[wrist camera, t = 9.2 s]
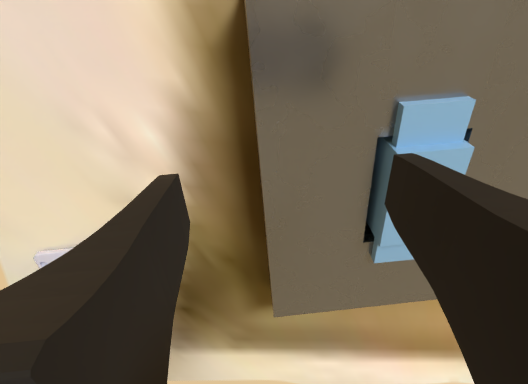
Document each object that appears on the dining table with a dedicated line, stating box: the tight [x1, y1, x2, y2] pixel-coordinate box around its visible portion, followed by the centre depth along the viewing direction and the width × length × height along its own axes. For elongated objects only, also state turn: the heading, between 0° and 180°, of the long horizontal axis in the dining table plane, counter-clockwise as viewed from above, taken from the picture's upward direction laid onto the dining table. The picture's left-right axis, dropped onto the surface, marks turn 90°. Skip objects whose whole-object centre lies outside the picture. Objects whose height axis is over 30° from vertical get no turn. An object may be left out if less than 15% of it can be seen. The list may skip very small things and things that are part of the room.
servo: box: [366, 96, 476, 263], centre depth 20 cm, size 11×4×4 cm, turn 4°
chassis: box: [244, 0, 528, 317], centre depth 21 cm, size 22×18×3 cm
